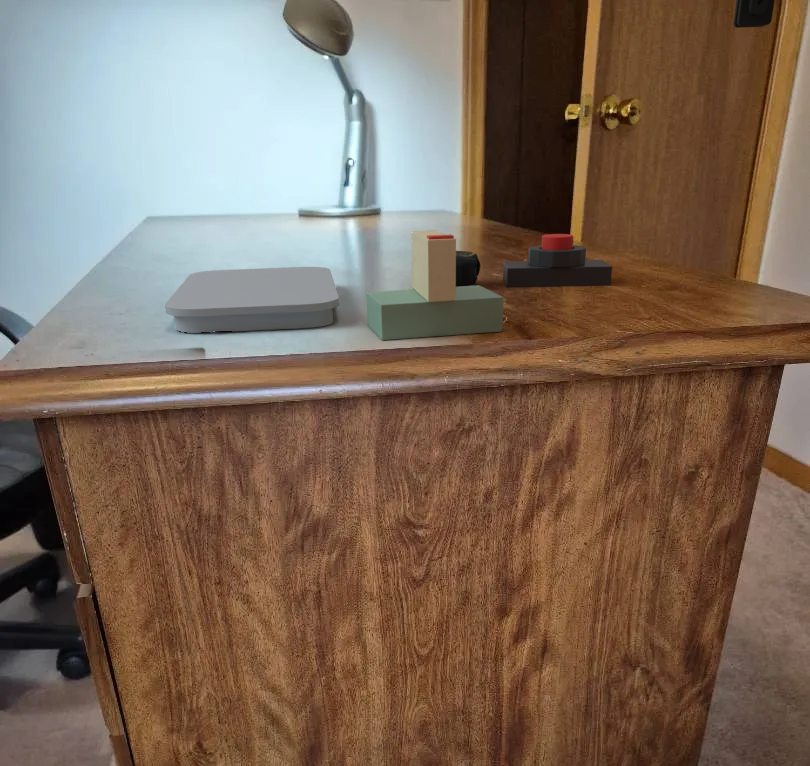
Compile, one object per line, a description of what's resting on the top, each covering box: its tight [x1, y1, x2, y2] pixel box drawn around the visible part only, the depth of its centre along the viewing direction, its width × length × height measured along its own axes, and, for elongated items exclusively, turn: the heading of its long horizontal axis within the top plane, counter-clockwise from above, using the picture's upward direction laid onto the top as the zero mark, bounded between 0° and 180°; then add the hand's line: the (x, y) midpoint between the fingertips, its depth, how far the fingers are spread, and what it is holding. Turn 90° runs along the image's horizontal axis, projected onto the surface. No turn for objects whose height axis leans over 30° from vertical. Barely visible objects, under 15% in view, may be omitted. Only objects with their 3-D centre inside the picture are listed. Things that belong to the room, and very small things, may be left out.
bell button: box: [541, 233, 575, 250], centre depth 92 cm, size 4×4×2 cm
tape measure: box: [456, 250, 481, 286], centre depth 93 cm, size 7×7×4 cm
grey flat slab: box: [164, 266, 340, 334], centre depth 84 cm, size 16×26×2 cm, turn 7°
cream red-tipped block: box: [410, 229, 457, 302], centre depth 70 cm, size 8×2×5 cm, turn 10°
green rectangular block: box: [365, 284, 504, 341], centre depth 72 cm, size 11×7×3 cm, turn 103°
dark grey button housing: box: [502, 244, 613, 288], centre depth 93 cm, size 12×6×4 cm, turn 88°
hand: (751, 25), depth 79 cm, fingers closed
